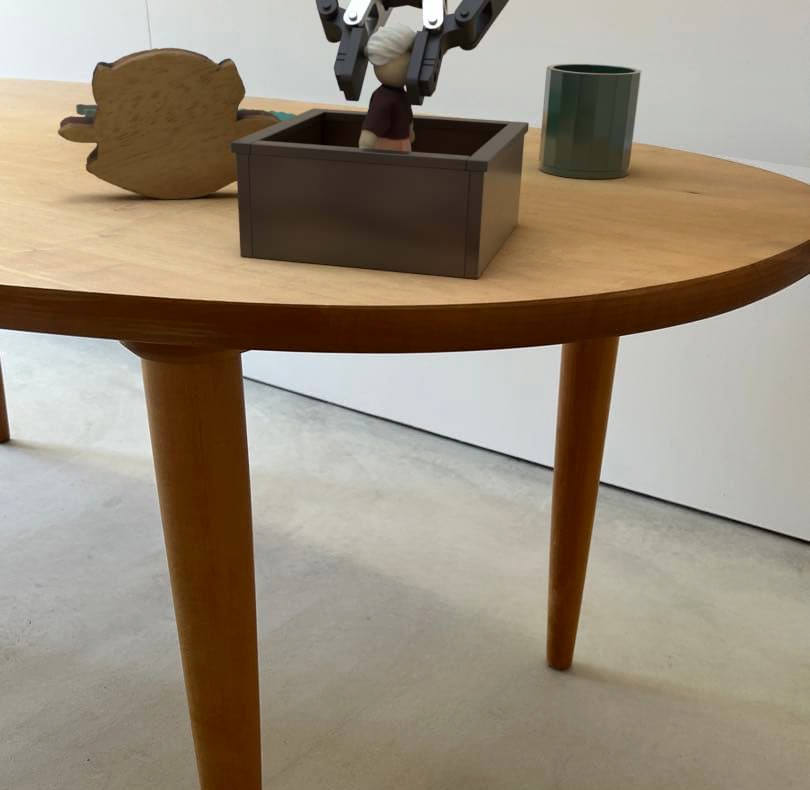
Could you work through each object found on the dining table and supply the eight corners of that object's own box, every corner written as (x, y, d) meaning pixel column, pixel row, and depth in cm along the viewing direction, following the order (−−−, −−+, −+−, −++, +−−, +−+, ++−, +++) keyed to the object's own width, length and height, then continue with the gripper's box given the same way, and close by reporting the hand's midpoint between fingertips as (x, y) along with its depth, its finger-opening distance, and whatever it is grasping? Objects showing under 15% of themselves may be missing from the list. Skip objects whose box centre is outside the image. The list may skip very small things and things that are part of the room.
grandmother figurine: (406, 256, 68) (416, 29, 62) (345, 250, 69) (349, 25, 62) (427, 227, 75) (438, 20, 68) (371, 222, 75) (377, 16, 69)
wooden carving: (284, 185, 85) (280, 44, 81) (299, 198, 82) (296, 50, 77) (63, 194, 81) (45, 44, 76) (67, 208, 77) (49, 51, 72)
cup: (631, 165, 97) (644, 66, 93) (625, 182, 90) (637, 76, 87) (545, 159, 98) (553, 61, 95) (532, 175, 92) (541, 70, 88)
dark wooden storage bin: (521, 223, 76) (528, 122, 73) (480, 280, 64) (487, 161, 61) (314, 205, 80) (312, 108, 76) (235, 256, 67) (230, 142, 64)
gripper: (315, -190, 68) (250, 43, 63) (544, -188, 65) (493, 56, 61) (341, -89, 75) (284, 127, 71) (548, -83, 72) (503, 143, 68)
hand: (381, 93), depth 66 cm, fingers closed on grandmother figurine, 3 cm apart
